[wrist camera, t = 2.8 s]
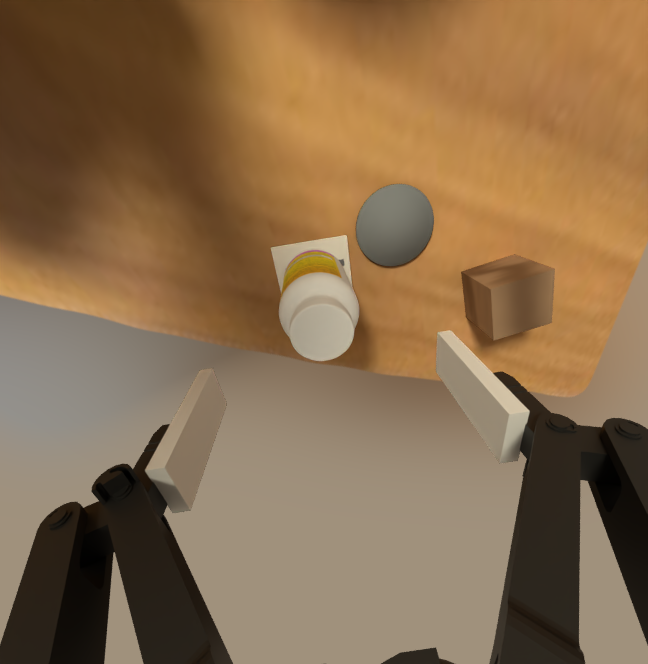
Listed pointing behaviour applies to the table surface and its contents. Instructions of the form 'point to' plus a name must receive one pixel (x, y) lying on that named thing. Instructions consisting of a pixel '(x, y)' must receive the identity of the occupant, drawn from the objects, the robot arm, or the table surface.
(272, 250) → the tile
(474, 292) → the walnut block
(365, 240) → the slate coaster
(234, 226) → the table surface
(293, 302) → the supplement bottle
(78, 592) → the robot arm
